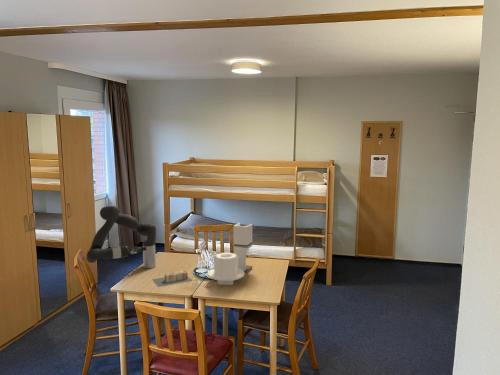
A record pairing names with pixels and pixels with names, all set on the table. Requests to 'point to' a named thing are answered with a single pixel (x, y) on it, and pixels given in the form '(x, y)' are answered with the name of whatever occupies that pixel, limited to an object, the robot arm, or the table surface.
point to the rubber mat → (162, 282)
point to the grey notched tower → (242, 245)
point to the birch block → (176, 276)
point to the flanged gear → (226, 269)
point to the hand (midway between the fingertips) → (146, 248)
